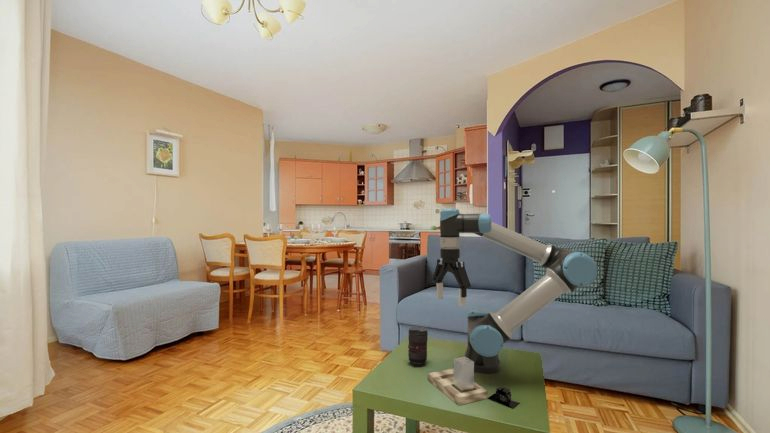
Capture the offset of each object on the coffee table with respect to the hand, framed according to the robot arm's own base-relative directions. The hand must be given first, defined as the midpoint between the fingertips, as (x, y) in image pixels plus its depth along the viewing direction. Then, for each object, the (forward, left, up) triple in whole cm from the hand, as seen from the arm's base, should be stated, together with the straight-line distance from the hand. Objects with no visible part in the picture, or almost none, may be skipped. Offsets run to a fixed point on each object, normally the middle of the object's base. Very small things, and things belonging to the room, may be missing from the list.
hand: (450, 302), depth 137 cm
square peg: (+4, +14, -29) cm, 32 cm away
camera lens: (+6, -16, -29) cm, 34 cm away
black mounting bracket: (-6, +22, -30) cm, 38 cm away
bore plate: (+4, +9, -29) cm, 31 cm away
